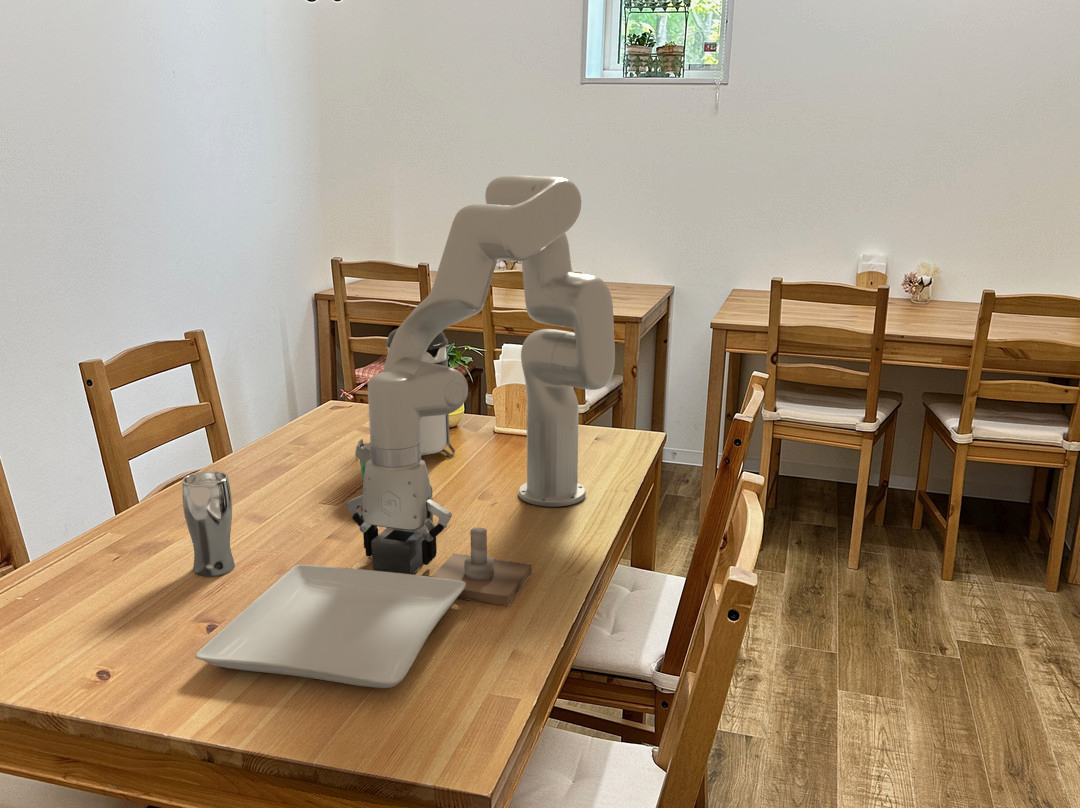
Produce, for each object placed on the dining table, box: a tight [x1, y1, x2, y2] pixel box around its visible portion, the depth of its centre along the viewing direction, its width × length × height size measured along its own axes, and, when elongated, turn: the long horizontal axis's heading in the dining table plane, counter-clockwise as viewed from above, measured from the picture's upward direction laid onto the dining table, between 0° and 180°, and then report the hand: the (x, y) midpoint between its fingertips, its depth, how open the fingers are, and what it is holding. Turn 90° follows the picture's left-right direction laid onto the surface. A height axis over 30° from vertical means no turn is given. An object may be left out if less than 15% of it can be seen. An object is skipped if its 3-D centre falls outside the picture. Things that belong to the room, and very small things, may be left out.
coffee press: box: [385, 328, 456, 457], centre depth 192 cm, size 17×16×30 cm
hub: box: [371, 527, 425, 575], centre depth 143 cm, size 6×6×5 cm
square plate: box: [194, 564, 466, 689], centre depth 122 cm, size 27×27×4 cm
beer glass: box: [181, 470, 236, 578], centre depth 140 cm, size 7×7×15 cm
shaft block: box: [430, 527, 533, 607], centre depth 136 cm, size 11×13×8 cm
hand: (400, 557), depth 143 cm, fingers open, 9 cm apart
